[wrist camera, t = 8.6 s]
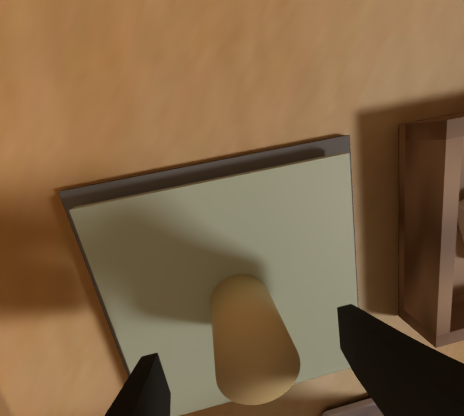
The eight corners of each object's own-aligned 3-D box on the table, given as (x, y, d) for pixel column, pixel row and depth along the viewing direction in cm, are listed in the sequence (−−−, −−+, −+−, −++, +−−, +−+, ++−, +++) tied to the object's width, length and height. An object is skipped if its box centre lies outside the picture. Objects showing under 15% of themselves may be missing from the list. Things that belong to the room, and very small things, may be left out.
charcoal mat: (357, 352, 16) (361, 357, 16) (144, 410, 15) (143, 416, 15) (345, 135, 13) (349, 135, 12) (63, 190, 12) (58, 192, 11)
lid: (348, 349, 16) (419, 444, 11) (153, 402, 15) (130, 534, 10) (335, 152, 12) (428, 157, 7) (82, 203, 11) (-9, 249, 6)
